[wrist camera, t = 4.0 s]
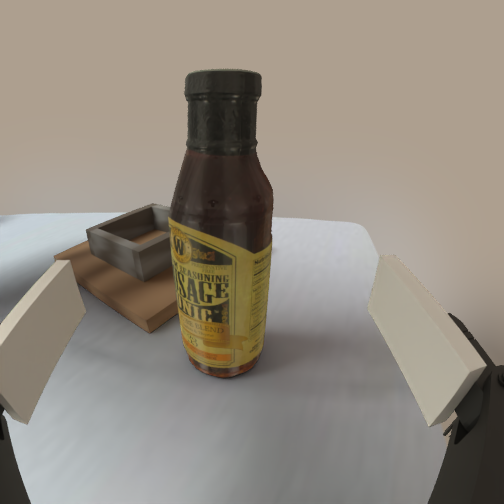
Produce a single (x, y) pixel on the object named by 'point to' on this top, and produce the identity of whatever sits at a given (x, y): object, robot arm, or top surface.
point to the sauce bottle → (222, 225)
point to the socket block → (129, 265)
